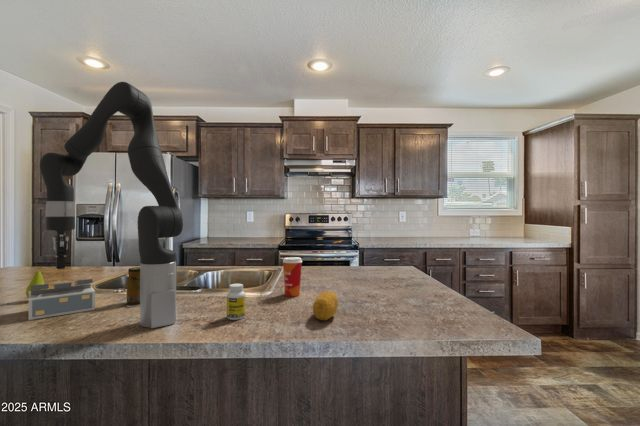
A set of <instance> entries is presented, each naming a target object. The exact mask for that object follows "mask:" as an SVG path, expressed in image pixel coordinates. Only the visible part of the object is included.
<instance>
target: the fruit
mask: <svg viewBox="0 0 640 426" xmlns="http://www.w3.org/2000/svg"><path fill="white" fill-rule="evenodd" d="M41 269H42V265H39V270H38V271H36V272H35V274H34V275H33V277H32V279H31V281H30V282H29V284H28V286H27V287H26V290H25V294H26V295H25V296H26V297H27V298H28V299H29V292H31V286H32V285H41V284H45V281H44V277H43V274H42V272H41ZM41 290H44V289H41ZM33 291H36V290H33Z"/></svg>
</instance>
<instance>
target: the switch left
mask: <svg viewBox="0 0 640 426" xmlns="http://www.w3.org/2000/svg"><path fill="white" fill-rule="evenodd" d="M49 286H50V285H49V283H44V284H41V285H32V286H31V291H33V290H41V289H50V288H49Z"/></svg>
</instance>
